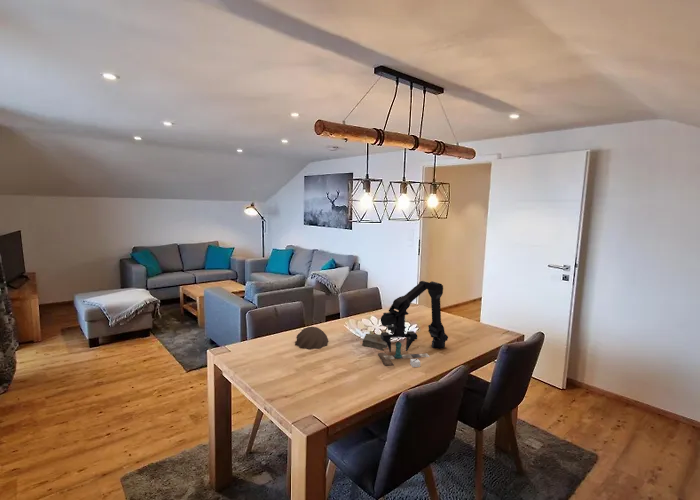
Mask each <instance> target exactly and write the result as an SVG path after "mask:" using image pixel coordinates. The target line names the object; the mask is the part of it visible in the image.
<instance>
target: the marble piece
mask: <svg viewBox="0 0 700 500" xmlns="http://www.w3.org/2000/svg"><path fill="white" fill-rule="evenodd" d="M361 344H362V346H363V347H366V348H370V349H375V350H379V351H385V349H388V345H387V343H386V342H385V341H383V340H382V339H381V334H378V333H365V335H364V337H363V339H362V343H361Z"/></svg>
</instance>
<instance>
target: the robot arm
mask: <svg viewBox="0 0 700 500" xmlns="http://www.w3.org/2000/svg"><path fill="white" fill-rule="evenodd" d="M426 290H427V292H428V295H429V297H430V301H431V304H430V305H431V323H430V324H428V330H427V331H428V334H429V335H430V338H432V341H431V347H432V348H433V349H437V350H442V349H445V348H446V341H448V339H449V336H448V334H447V333H446V331H445V327H444V325H443V323H442V315H441V313H442V311H441V297H442V296H443V295H444V294H443V293H444V285H443V284H442V283H439V282H436V281H432V280H431V281H425V280H421V281H419V282H418V284H417V285H415V286H414V287H412V289H410V290H409V291H408V292H407V293H406V294H404V295H402V296H399V297H397V298H395V299H394V300H393V301H392V304H391V306H390V307H389V308H388V312H383V314H382V316H380V323H381V325H382V326H383V327H386V328H387V332H381V333H380V335H381V339H382V340H383V341H385V342H386V343H387V350H388V351H389V353H392V352H391V350H392V341H391V339H397V338H398V339H399V338H402V339H403V338H405V339H406V344H405V351H406V352H408V350H409V349H410V347H411V345H412V344H413V342H416V341H415V340H418V335H417V333H416V332H415V331H414V330H409V331H406V333H405V329H406V316H407V315H409V314H410V313H409V312H408V311H407V310H408V309H409V307H410V306H411V303H412V302H413V301H414V300H416V299H417V298H418V297H419V296H420V295H421V294H423V293H424V292H425V291H426ZM388 331H390V333H391V334H390V333H389V332H388Z"/></svg>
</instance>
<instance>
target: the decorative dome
mask: <svg viewBox="0 0 700 500" xmlns="http://www.w3.org/2000/svg"><path fill="white" fill-rule="evenodd" d="M295 339H296V341H295V343H294V345H295V346H298V348H299V349H306V350H309V351H310V350H321V349H322V348H324V347H328V345H329V342H330V341H329V338H328V335H327V334H326V333H325V331H323V330H322V329H321V328H319V327H316V326H308V327H305V328H303V329H301V331H300V332H299V333H298V334H296V338H295Z"/></svg>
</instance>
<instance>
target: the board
mask: <svg viewBox="0 0 700 500" xmlns="http://www.w3.org/2000/svg"><path fill="white" fill-rule="evenodd" d="M377 355H378V357H379V358H380V360H381V362H382V363H383V365H384V366H385V367H392V366H393V367H394V366H395V364H394V362H393V360H401V359H419V358H430V357H431V356H430V355H429V353H411V354H408V353H407V354H401V355H402V357H401V358H395V354H393V355H392V354H391V355H388V354H387V353H386V351H385V352H378V353H377Z"/></svg>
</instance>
